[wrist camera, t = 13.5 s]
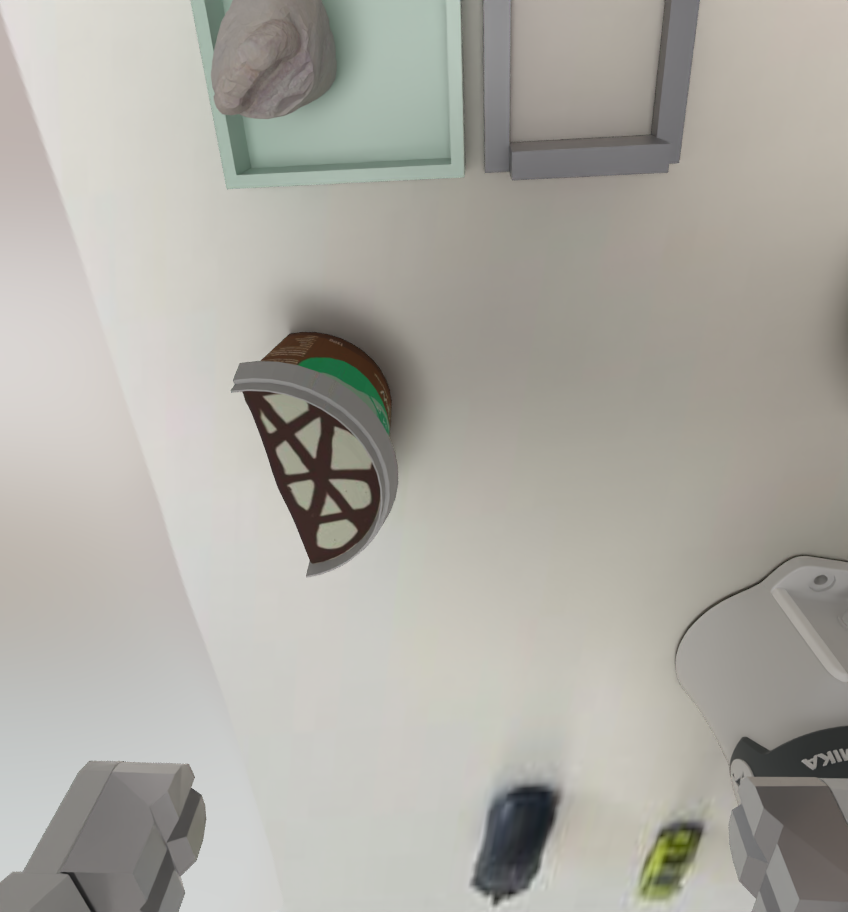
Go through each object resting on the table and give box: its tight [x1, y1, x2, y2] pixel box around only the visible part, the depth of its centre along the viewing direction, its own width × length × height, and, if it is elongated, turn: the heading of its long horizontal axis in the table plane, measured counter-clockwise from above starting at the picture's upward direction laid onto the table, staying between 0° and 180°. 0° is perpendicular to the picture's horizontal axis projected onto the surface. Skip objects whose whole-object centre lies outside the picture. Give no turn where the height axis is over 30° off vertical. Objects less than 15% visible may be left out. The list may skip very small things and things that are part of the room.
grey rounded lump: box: [211, 0, 337, 119], centre depth 27 cm, size 6×4×10 cm, turn 159°
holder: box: [483, 0, 700, 180], centre depth 30 cm, size 9×11×4 cm
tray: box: [191, 0, 465, 189], centre depth 31 cm, size 12×11×3 cm
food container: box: [231, 332, 398, 577], centre depth 37 cm, size 12×6×10 cm, turn 13°
